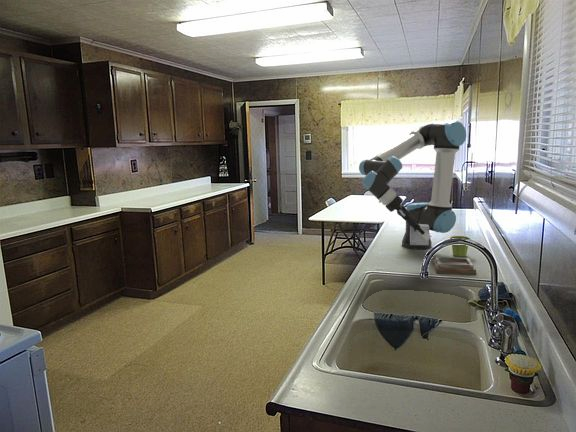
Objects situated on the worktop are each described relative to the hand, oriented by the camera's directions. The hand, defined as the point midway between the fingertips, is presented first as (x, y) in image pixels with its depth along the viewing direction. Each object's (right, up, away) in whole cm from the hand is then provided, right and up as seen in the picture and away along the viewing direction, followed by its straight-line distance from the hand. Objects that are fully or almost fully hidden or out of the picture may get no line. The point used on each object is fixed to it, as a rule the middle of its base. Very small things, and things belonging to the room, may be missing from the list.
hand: (428, 236), depth 188 cm
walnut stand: (+11, -14, 0) cm, 18 cm away
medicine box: (-4, -3, +2) cm, 5 cm away
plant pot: (+22, -10, +19) cm, 31 cm away
